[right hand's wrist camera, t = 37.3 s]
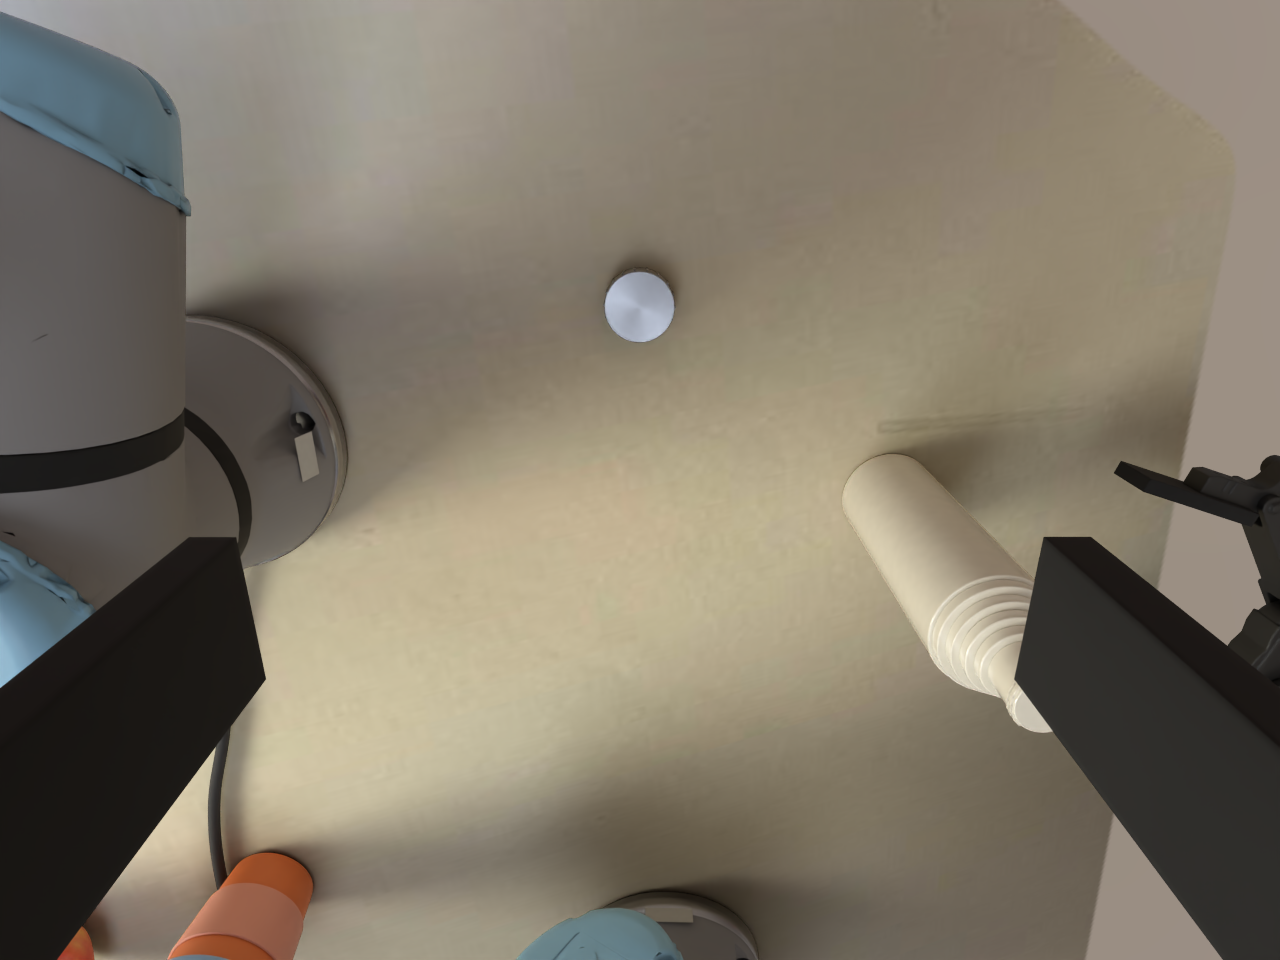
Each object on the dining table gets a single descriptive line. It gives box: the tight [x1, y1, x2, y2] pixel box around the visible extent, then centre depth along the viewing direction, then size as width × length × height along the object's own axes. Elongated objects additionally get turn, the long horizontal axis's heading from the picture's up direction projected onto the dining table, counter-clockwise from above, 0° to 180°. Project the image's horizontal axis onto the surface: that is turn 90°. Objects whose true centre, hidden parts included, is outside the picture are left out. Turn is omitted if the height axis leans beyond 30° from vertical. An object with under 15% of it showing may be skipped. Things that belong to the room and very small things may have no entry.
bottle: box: [842, 454, 1052, 733], centre depth 39 cm, size 6×6×21 cm
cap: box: [604, 267, 675, 342], centre depth 43 cm, size 4×4×2 cm
